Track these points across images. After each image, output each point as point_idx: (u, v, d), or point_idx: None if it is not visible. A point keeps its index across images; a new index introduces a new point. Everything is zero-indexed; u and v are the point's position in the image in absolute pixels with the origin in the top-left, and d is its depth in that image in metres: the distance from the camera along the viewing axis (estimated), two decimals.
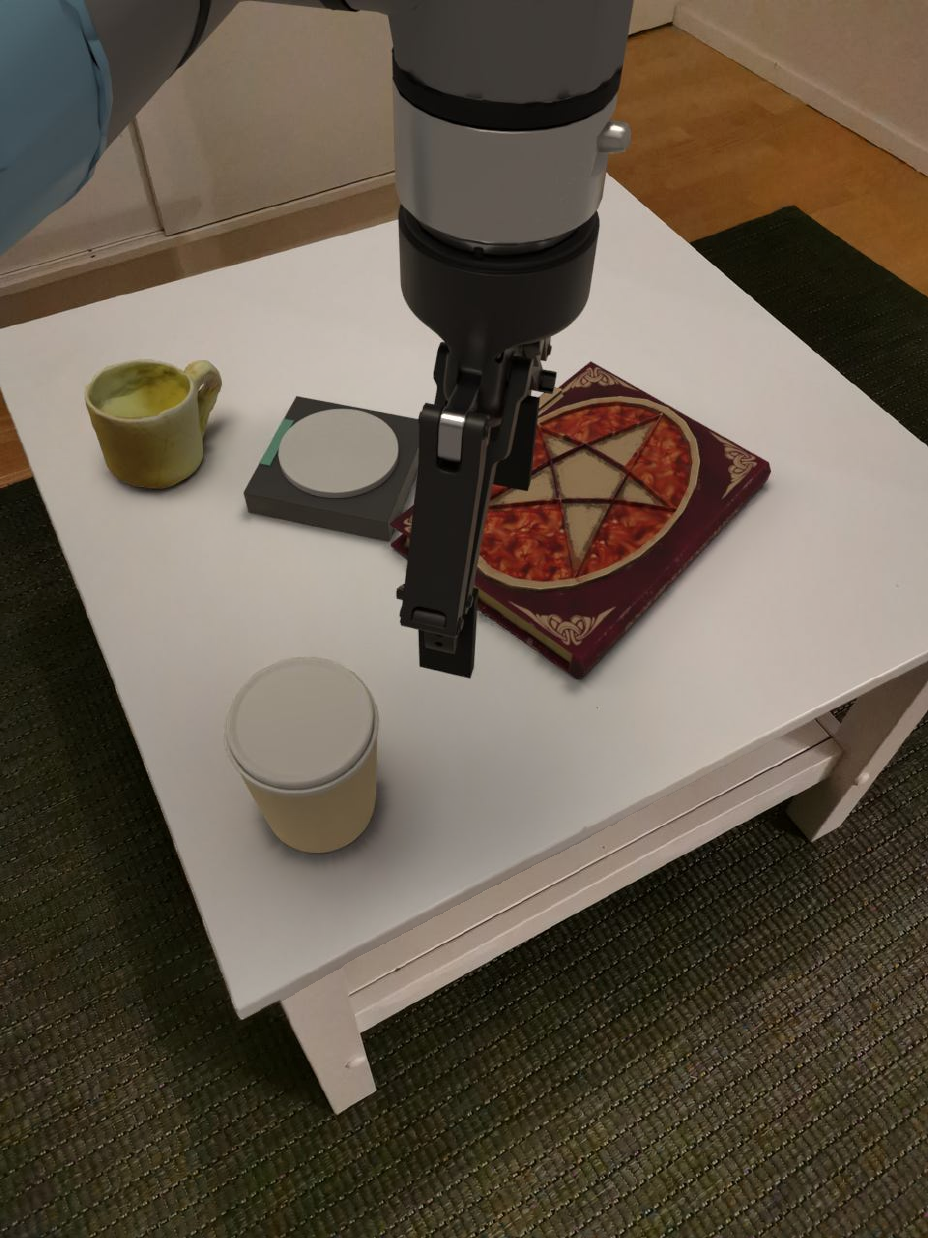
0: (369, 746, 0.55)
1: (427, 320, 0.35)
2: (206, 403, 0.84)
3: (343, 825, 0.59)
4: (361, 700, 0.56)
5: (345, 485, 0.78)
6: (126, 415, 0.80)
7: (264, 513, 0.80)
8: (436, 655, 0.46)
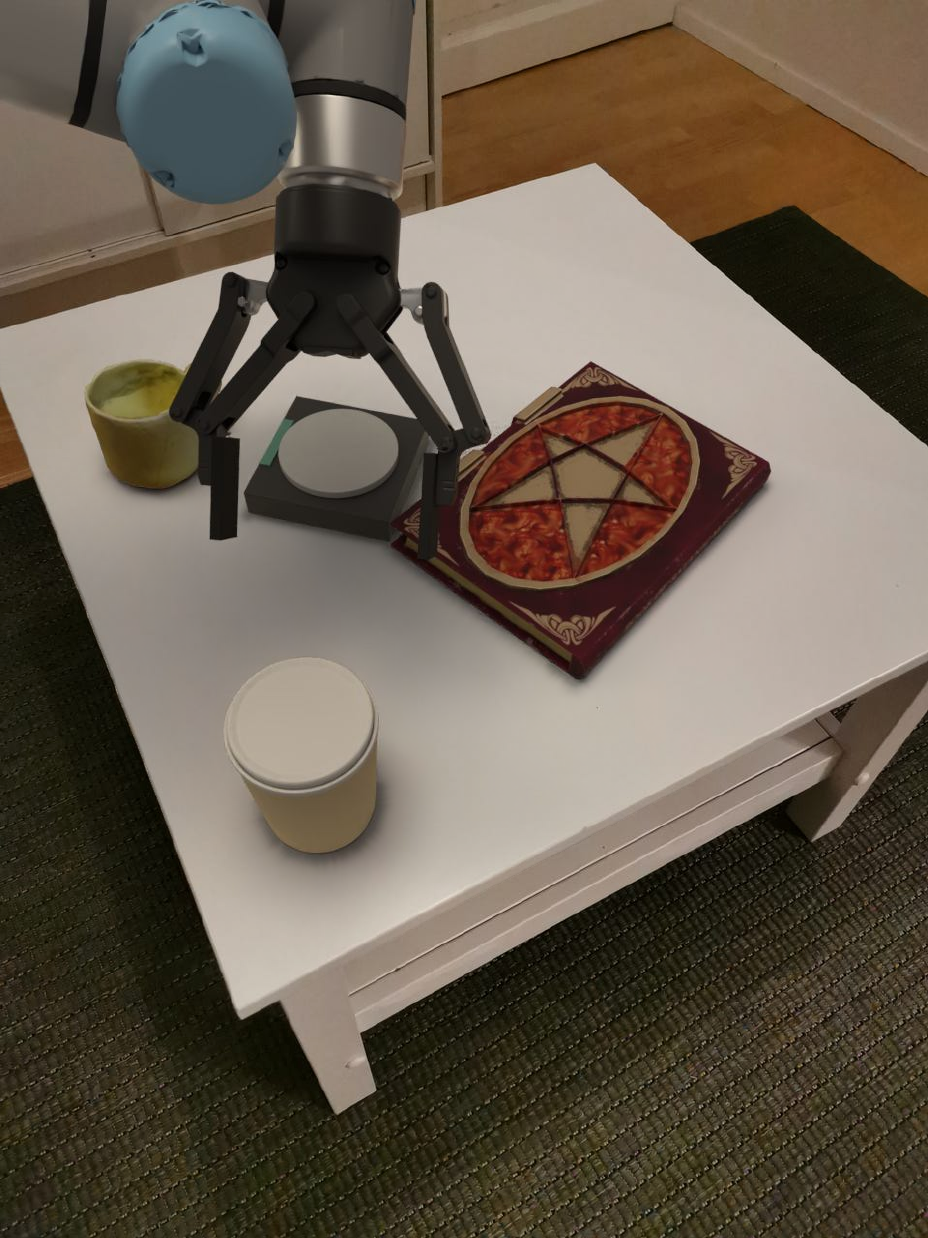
0: (369, 746, 0.55)
1: (381, 249, 0.53)
2: None
3: (343, 825, 0.59)
4: (361, 700, 0.56)
5: (345, 485, 0.78)
6: (126, 415, 0.80)
7: (264, 513, 0.80)
8: (433, 536, 0.57)
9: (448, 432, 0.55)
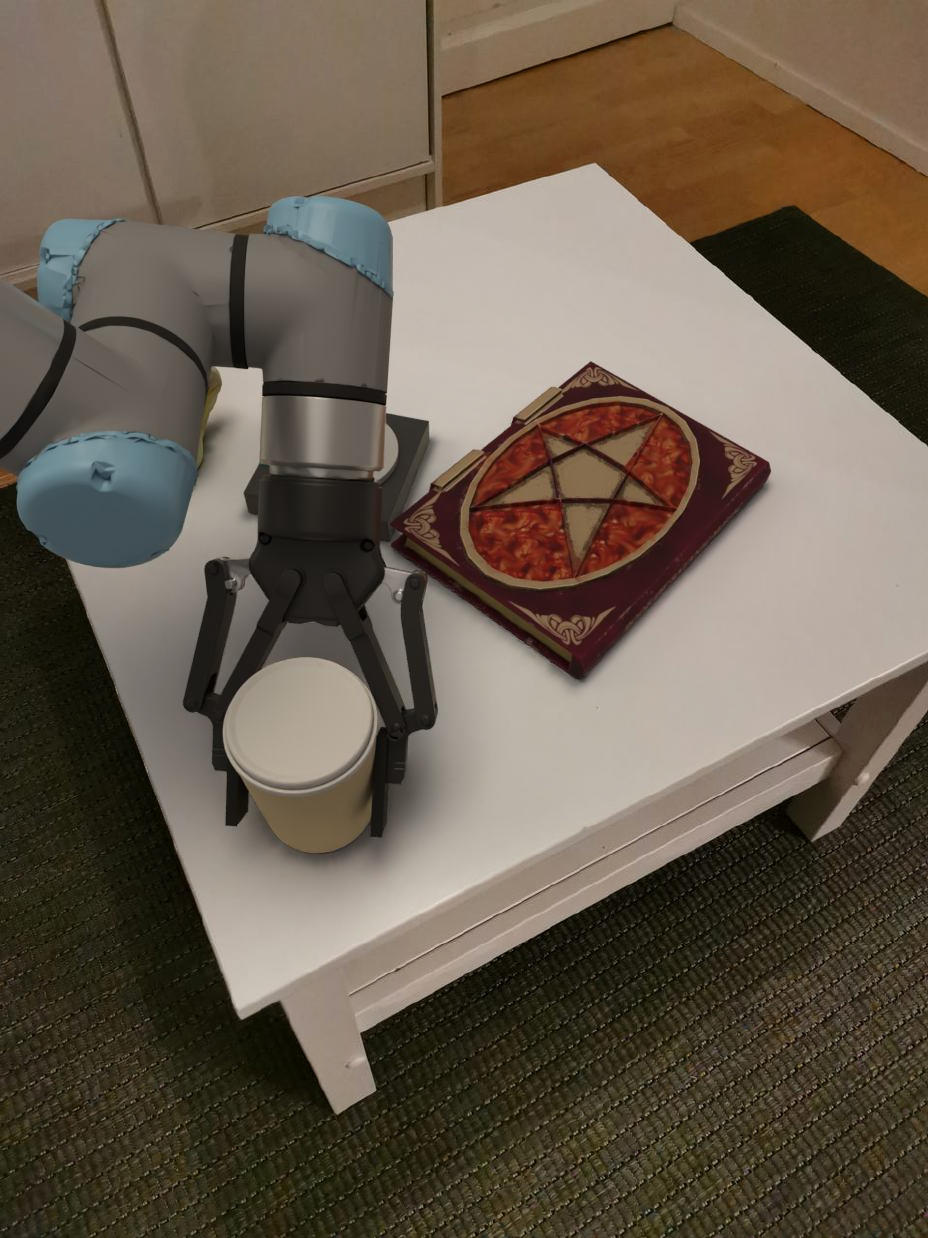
0: (368, 746, 0.55)
1: (367, 532, 0.55)
2: (206, 403, 0.84)
3: (342, 825, 0.59)
4: (360, 700, 0.56)
5: None
6: None
7: None
8: (384, 811, 0.59)
9: (401, 720, 0.57)
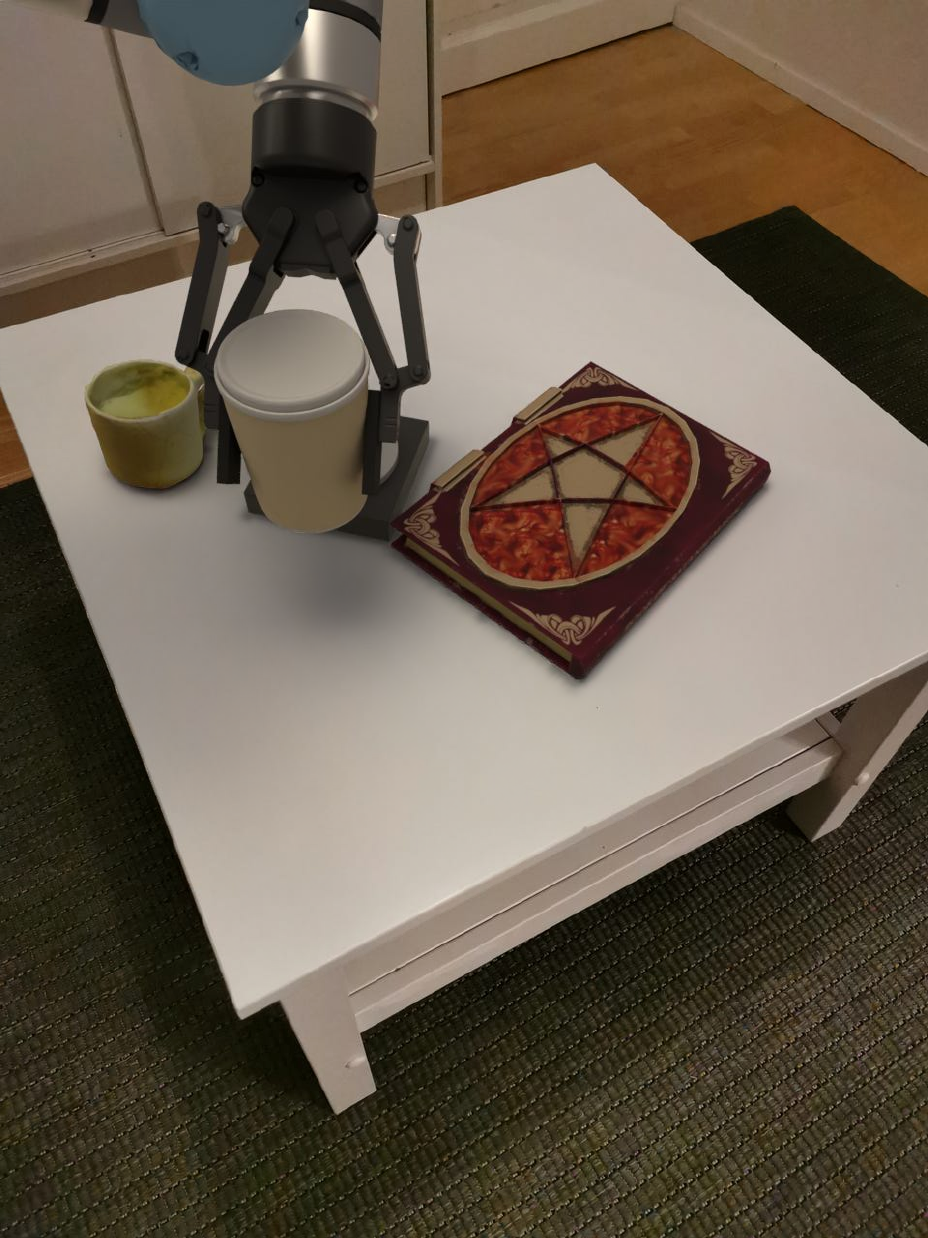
0: (360, 381, 0.54)
1: (360, 166, 0.55)
2: None
3: (334, 488, 0.59)
4: (352, 342, 0.56)
5: None
6: (126, 415, 0.80)
7: (264, 513, 0.80)
8: (376, 472, 0.59)
9: (393, 370, 0.57)
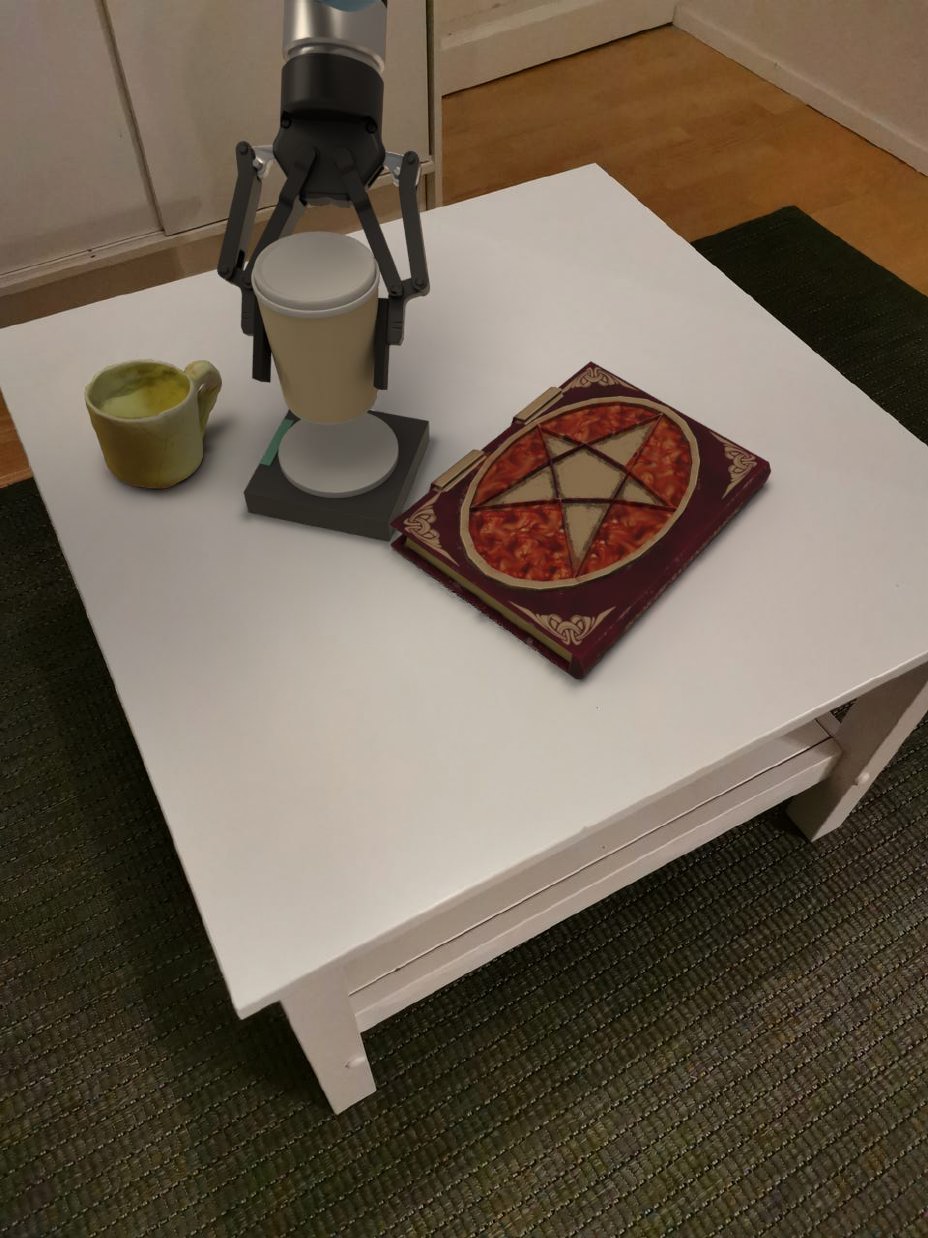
0: (372, 286, 0.66)
1: (371, 110, 0.66)
2: (206, 403, 0.84)
3: (350, 382, 0.71)
4: (365, 256, 0.67)
5: (345, 485, 0.78)
6: (126, 415, 0.80)
7: (264, 513, 0.80)
8: (385, 369, 0.70)
9: (399, 281, 0.69)
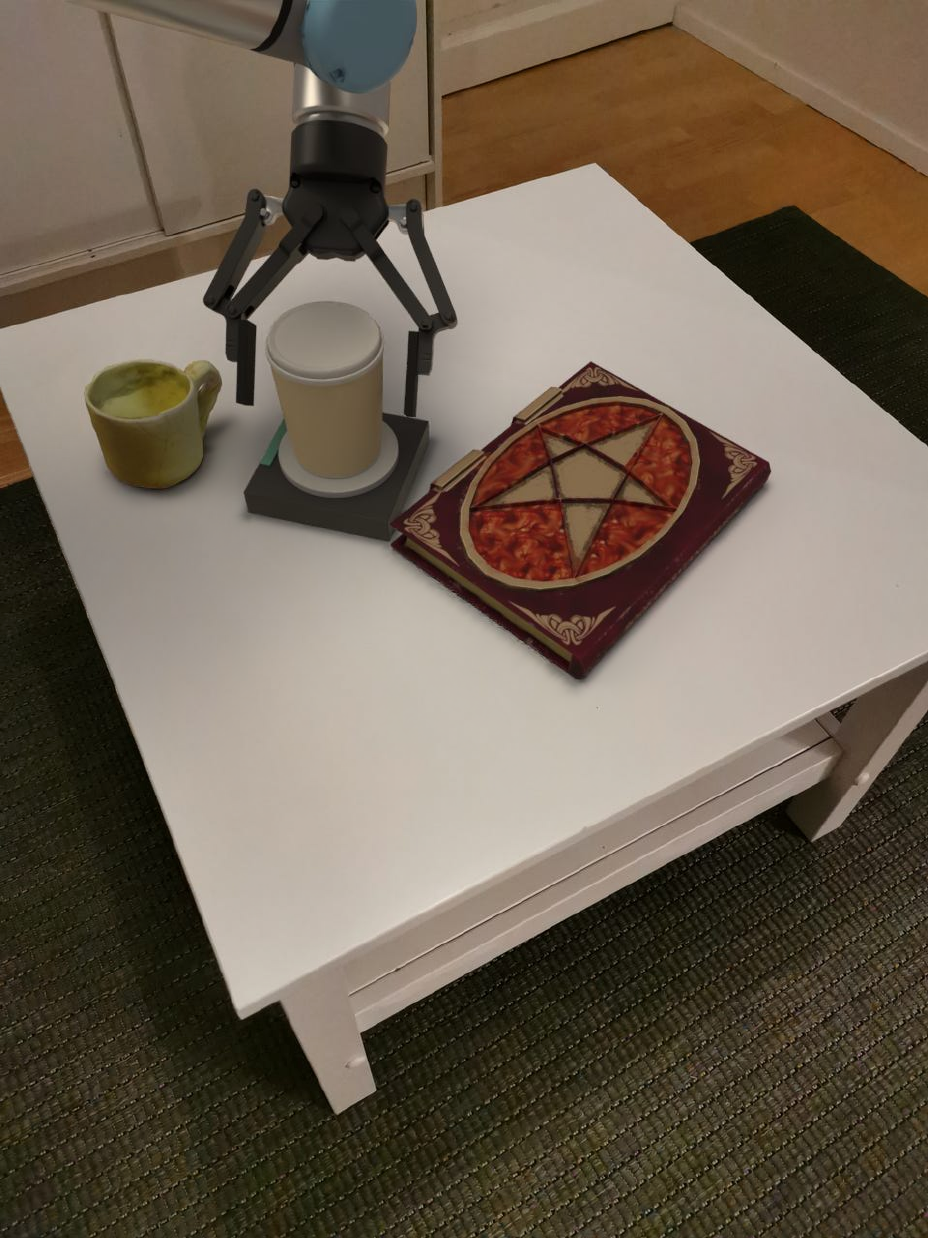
0: (377, 355, 0.71)
1: (375, 172, 0.70)
2: (206, 403, 0.84)
3: (356, 441, 0.76)
4: (371, 326, 0.72)
5: (345, 485, 0.78)
6: (126, 415, 0.80)
7: (264, 513, 0.80)
8: (415, 398, 0.74)
9: (427, 315, 0.72)
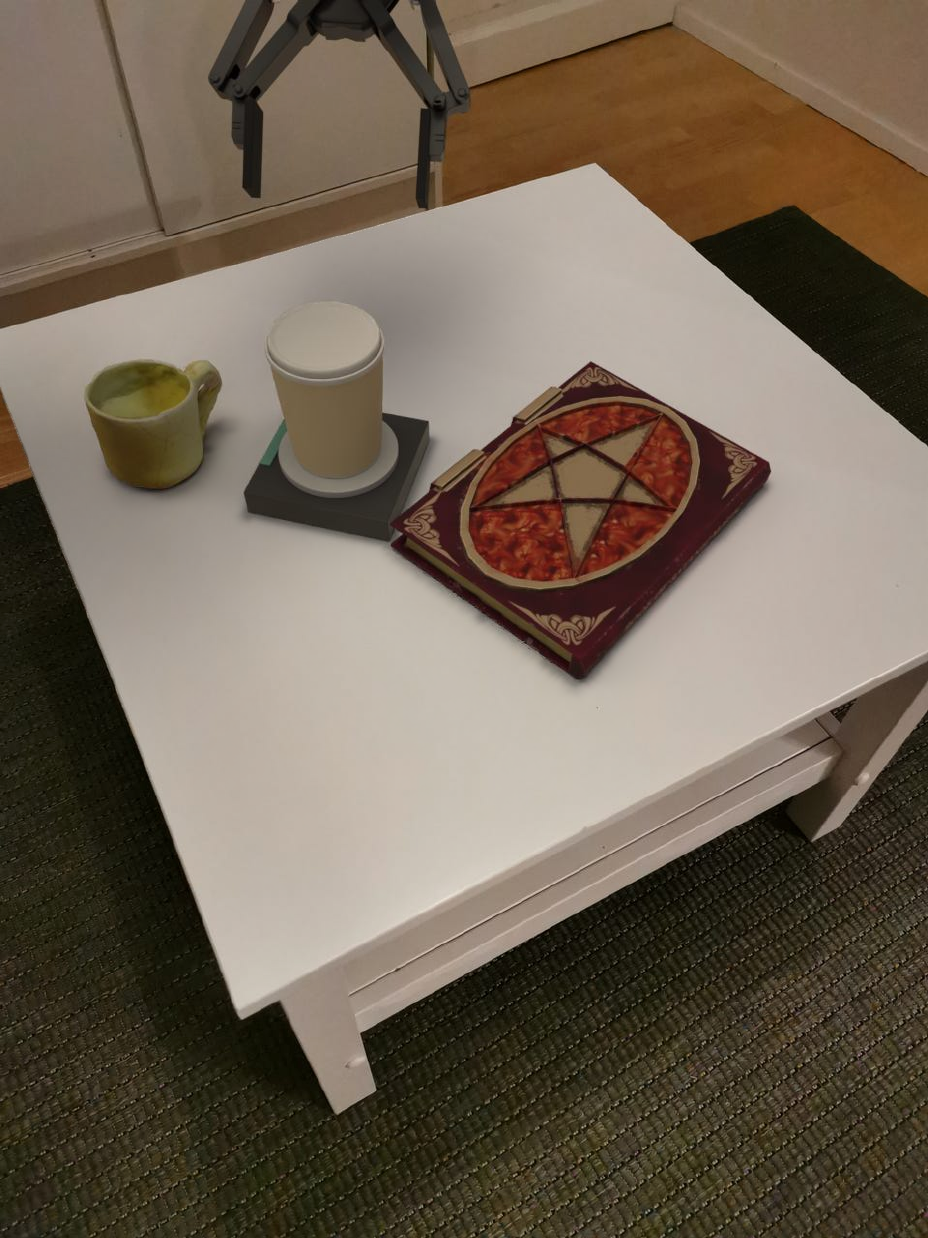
0: (377, 355, 0.71)
1: None
2: (206, 403, 0.84)
3: (356, 441, 0.76)
4: (371, 326, 0.72)
5: (345, 485, 0.78)
6: (126, 415, 0.80)
7: (264, 513, 0.80)
8: (427, 182, 0.72)
9: (439, 91, 0.70)
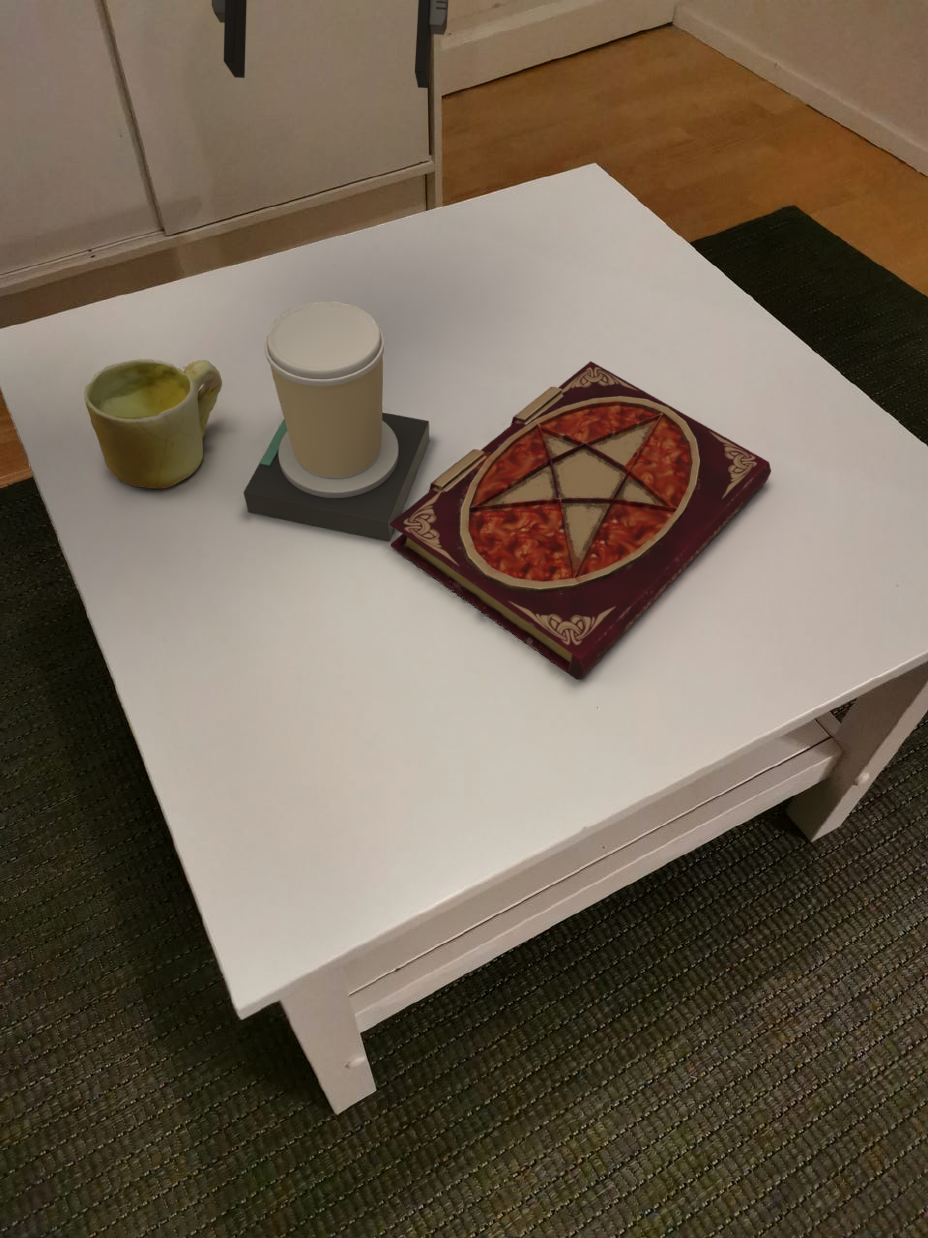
0: (377, 355, 0.71)
1: None
2: (206, 403, 0.84)
3: (356, 441, 0.76)
4: (371, 326, 0.72)
5: (345, 485, 0.78)
6: (126, 415, 0.80)
7: (264, 513, 0.80)
8: (427, 56, 0.65)
9: None
